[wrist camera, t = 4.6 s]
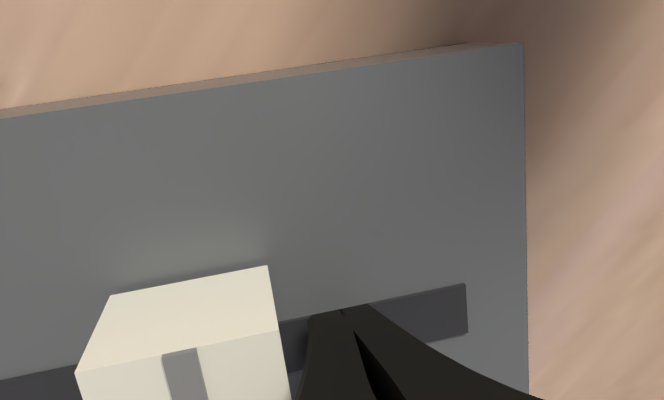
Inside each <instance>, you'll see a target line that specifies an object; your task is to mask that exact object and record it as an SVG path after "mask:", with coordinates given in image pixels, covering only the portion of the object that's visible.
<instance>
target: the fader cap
mask: <svg viewBox="0 0 664 400" xmlns="http://www.w3.org/2000/svg"><path fill="white" fill-rule="evenodd" d="M74 374H75V377H76V380H77V383H78V386H79V389H80V392H81V396H82V399H83V400H292V399H291V393H290V388H289V382H288V377H287V371H286V365H285V360H284V354H283V349H282V343H281V338H280V332H279V327H278V321H277V316H276V310H275V304H274V299H273V293H272V288H271V282H270V277H269V271H268V266H267V265H265V266H259V267H254V268H249V269H244V270H239V271H234V272H228V273H223V274H218V275H213V276H208V277H203V278H198V279H192V280H187V281H182V282H177V283H172V284H167V285H161V286H156V287H151V288H146V289H141V290H136V291H130V292H125V293H120V294H115V295H110V297H109V299H108V301H107V303H106V305H105V308H104V310H103V312H102V314H101V316H100V318H99V321H98V323H97V325H96V327H95V329H94V331H93V334H92V336H91V338H90V340H89V342H88V344H87V347H86V349H85V351H84V353H83V355H82V357H81V359H80V362H79V364H78V366H77V368H76V370H75V372H74Z"/></svg>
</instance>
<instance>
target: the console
mask: <svg viewBox="0 0 664 400" xmlns="http://www.w3.org/2000/svg"><path fill="white" fill-rule="evenodd" d="M265 265H267V266H268V271H269V277H270V282H271V288H272V293H273V299H274V304H275V310H276V316H277V321H278V327H279V332H280V338H281V343H282V349H283V354H284V360H285V365H286V371H287V377H288V382H289V388H290V393H291V399H292V400H295V397H296V393H297V390H298V387H299V384H300V380H301V377H302V373H303V368H304V363H305V358H306V353H307V346H308V336H309V332H308V326H307V320H308V319H309V318H310V316H311V315H314V314H319V313H324V312H328V311H333V310H338V309H343V308H348V307H353V306H358V305H363V304H368V305H370V306H371V307H373V308H374V309H376V310H377V311H378V312H380V313H381V314H383V315H384V316H385V317H387V318H388V319H390V320H391V321H392V322H394V323H395V324H397V325H398V326H399V327H401V328H402V329H404V330H405V331H407V332H408V333H410V334H411V335H413V336H414V337H416V338H417V339H419V340H420V341H422V342H424V343H425V344H427V345H428V346H430V347H432V348H433V349H435V350H437V351H438V352H440V353H442V354H444V355H445V356H447V357H449V358H451V359H453V360H454V361H456V362H458V363H460V364H462V365H464V366H465V367H467V368H469V369H471V370H473V371H475V372H477V373H480V374H482V375H484V376H486V377H488V378H491V379H493V380H495V381H497V382H500V383H502V384H504V385H507V386H509V387H511V388H514V389H516V390H519V391H521V392H524V393H526V394H529V369H528V303H527V237H526V171H525V104H524V43H463V44H456V45H449V46H442V47H435V48H428V49H421V50H414V51H407V52H400V53H393V54H386V55H379V56H372V57H365V58H358V59H351V60H344V61H337V62H330V63H323V64H316V65H309V66H302V67H295V68H288V69H281V70H274V71H267V72H260V73H253V74H246V75H239V76H232V77H225V78H218V79H211V80H204V81H197V82H190V83H183V84H176V85H169V86H162V87H155V88H148V89H141V90H134V91H127V92H120V93H113V94H106V95H99V96H92V97H85V98H78V99H71V100H64V101H57V102H50V103H43V104H36V105H29V106H22V107H15V108H8V109H1V110H0V400H83V399H82V396H81V392H80V389H79V386H78V383H77V380H76V377H75V374H74V372H75V370H76V368H77V366H78V364H79V362H80V359H81V357H82V355H83V353H84V351H85V349H86V347H87V344H88V342H89V340H90V338H91V336H92V334H93V331H94V329H95V327H96V325H97V323H98V321H99V318H100V316H101V314H102V312H103V310H104V308H105V305H106V303H107V301H108V299H109V297H110V295H115V294H120V293H125V292H130V291H136V290H141V289H146V288H151V287H156V286H161V285H167V284H172V283H177V282H182V281H187V280H192V279H198V278H203V277H208V276H213V275H218V274H223V273H228V272H234V271H239V270H244V269H249V268H254V267H259V266H265Z"/></svg>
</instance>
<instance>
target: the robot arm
mask: <svg viewBox="0 0 664 400" xmlns="http://www.w3.org/2000/svg"><path fill="white" fill-rule="evenodd" d="M307 326H308V332H309V336H308V346H307V353H306V358H305V363H304V368H303V373H302V377H301V380H300V384H299V387H298V390H297V393H296V397H295V400H543V399H540V398H537V397H535V396H532V395H529V394H526V393H524V392H521V391H519V390H516V389H514V388H511V387H509V386H507V385H504V384H502V383H500V382H497V381H495V380H493V379H491V378H488V377H486V376H484V375H482V374H480V373H477V372H475V371H473V370H471V369H469V368H467V367H465V366H464V365H462V364H460V363H458V362H456V361H454V360H453V359H451V358H449V357H447V356H445V355H444V354H442V353H440V352H438V351H437V350H435V349H433V348H432V347H430V346H428V345H427V344H425V343H424V342H422V341H420V340H419V339H417V338H416V337H414V336H413V335H411V334H410V333H408V332H407V331H405V330H404V329H402V328H401V327H399V326H398V325H397V324H395V323H394V322H392V321H391V320H390V319H388V318H387V317H385V316H384V315H383V314H381V313H380V312H378V311H377V310H376V309H374V308H373V307H371V306H370V305H368V304H363V305H358V306H353V307H348V308H343V309H338V310H333V311H328V312H324V313H319V314H314V315H311V316H310V318H309V319H308V320H307Z"/></svg>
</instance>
